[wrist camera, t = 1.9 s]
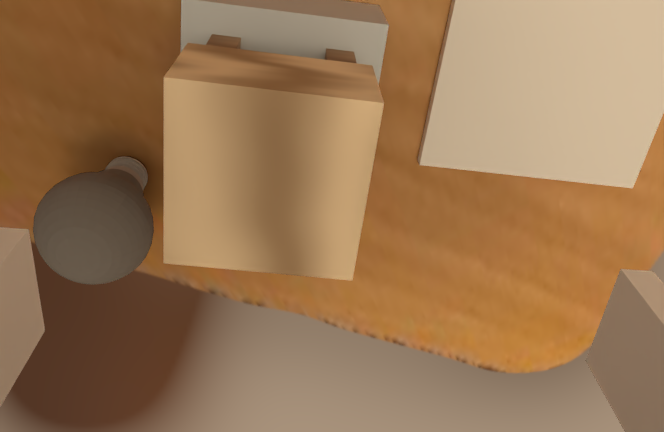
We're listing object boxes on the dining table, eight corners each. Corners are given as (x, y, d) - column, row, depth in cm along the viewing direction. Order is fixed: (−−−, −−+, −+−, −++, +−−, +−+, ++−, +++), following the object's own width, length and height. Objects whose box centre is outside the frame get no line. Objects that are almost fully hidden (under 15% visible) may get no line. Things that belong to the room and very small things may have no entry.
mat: (417, 159, 39) (419, 165, 39) (469, -83, 33) (473, -82, 32) (627, 182, 41) (632, 188, 40) (719, -47, 34) (727, -45, 33)
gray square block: (193, 149, 39) (178, 185, 34) (198, -19, 34) (181, -2, 30) (352, 167, 40) (358, 204, 35) (378, 5, 35) (388, 25, 30)
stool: (197, 171, 34) (163, 263, 26) (201, 22, 30) (163, 77, 22) (342, 186, 35) (352, 280, 27) (365, 42, 31) (384, 103, 23)
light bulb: (139, 230, 41) (94, 327, 33) (61, 173, 39) (-11, 261, 30) (196, 170, 39) (163, 257, 31) (116, 108, 37) (57, 181, 28)
